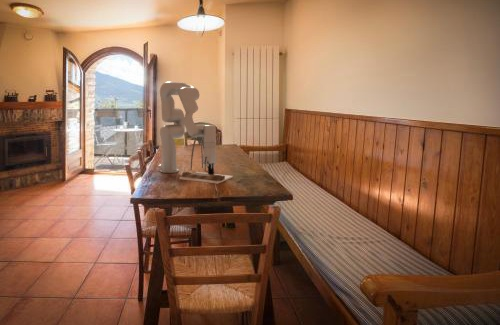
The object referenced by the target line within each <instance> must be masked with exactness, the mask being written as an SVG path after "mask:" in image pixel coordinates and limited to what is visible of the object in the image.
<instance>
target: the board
mask: <svg viewBox="0 0 500 325" xmlns="http://www.w3.org/2000/svg"><path fill="white" fill-rule="evenodd" d="M195 172H196V173H202V172H200V171H195ZM204 173H205V174H208V172H204ZM214 175H222V176H225V179H223V180H222V181H214V180H205V179H197V178H188V177H182V176H179V178H178V179H179V180H185V181H192V182H200V183H210V184H220V183H223V182H226V181H228V180H230V179H234V175H228V174H217V173H214Z"/></svg>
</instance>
